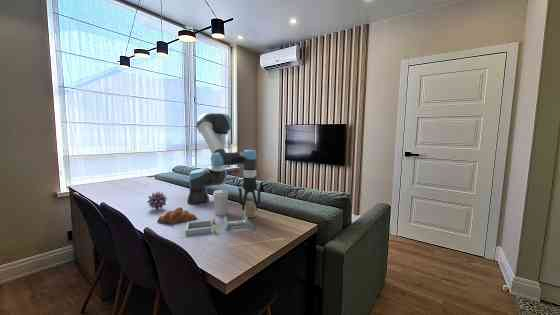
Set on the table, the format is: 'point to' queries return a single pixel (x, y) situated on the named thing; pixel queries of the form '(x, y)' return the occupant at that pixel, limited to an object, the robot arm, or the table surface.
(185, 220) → the pastry
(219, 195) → the coffee cup
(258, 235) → the table surface
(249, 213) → the jaw block
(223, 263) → the table surface
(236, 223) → the gate
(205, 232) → the housing
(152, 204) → the spiky ball
